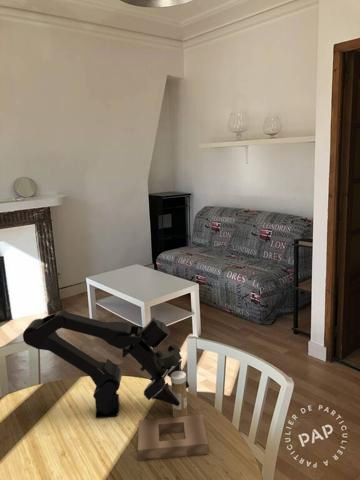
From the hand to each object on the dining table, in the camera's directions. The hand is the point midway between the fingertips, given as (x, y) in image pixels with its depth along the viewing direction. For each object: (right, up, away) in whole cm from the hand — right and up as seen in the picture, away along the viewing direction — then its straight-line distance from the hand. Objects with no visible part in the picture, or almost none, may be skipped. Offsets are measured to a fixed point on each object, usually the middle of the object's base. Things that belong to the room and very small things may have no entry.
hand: (183, 395), depth 122 cm
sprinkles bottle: (-1, -7, +2) cm, 7 cm away
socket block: (-3, -9, -9) cm, 13 cm away
